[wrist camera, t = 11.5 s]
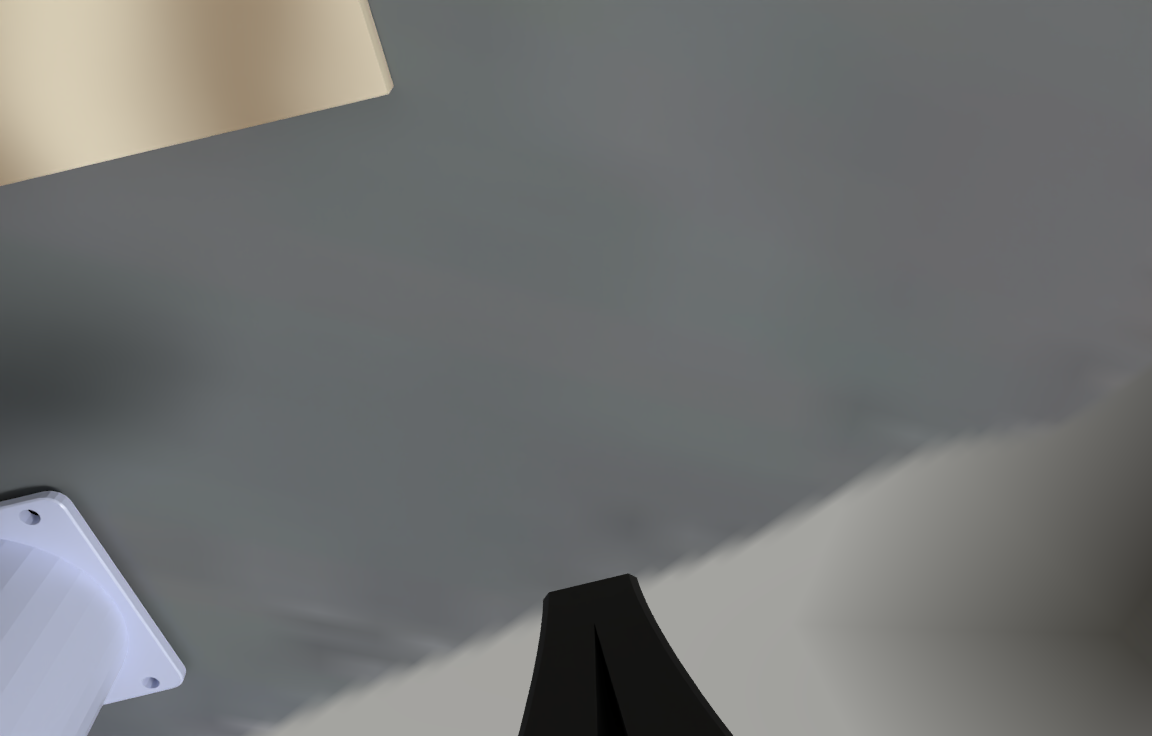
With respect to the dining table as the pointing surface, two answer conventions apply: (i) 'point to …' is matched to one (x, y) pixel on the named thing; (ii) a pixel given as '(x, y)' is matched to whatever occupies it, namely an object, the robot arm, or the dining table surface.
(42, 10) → the board
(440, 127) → the dining table surface
